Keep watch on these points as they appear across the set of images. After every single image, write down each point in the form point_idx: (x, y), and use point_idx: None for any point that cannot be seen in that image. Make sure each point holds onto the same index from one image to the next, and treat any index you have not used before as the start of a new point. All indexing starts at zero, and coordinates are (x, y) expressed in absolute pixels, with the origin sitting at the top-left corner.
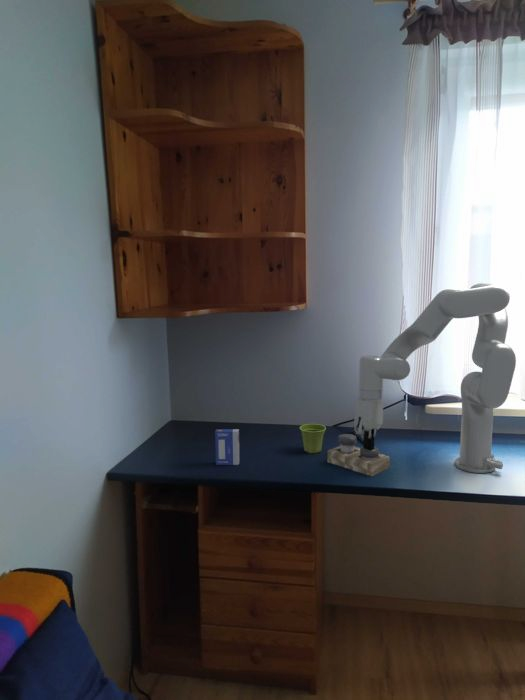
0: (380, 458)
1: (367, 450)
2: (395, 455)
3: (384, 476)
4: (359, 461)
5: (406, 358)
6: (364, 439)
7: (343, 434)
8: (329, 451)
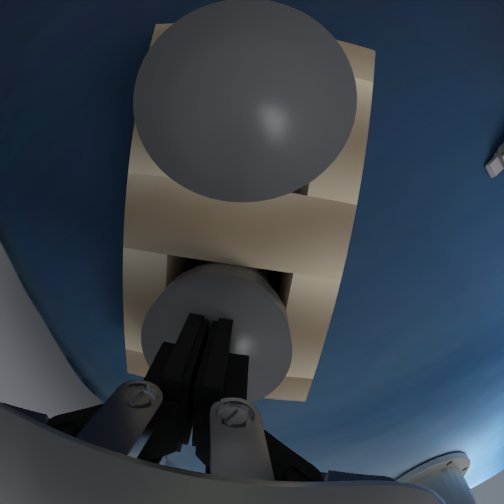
0: None
1: None
2: (465, 305)
3: None
4: (126, 294)
5: None
6: (144, 380)
7: (292, 17)
8: (152, 39)
